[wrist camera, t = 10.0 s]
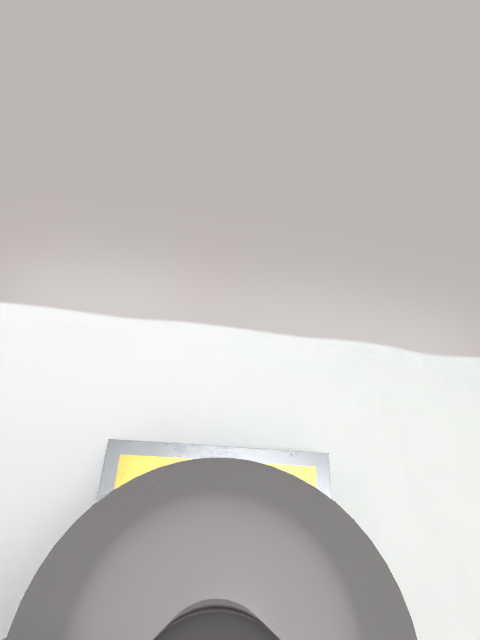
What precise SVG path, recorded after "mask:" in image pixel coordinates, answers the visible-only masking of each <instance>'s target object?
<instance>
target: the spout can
mask: <svg viewBox="0 0 480 640" xmlns="http://www.w3.org/2000/svg"><path fill="white" fill-rule="evenodd" d="M6 640H417V637H416V633H415V629H414V626H413V622H412V619H411V616H410V614H409V611H408V609H407V606H406V604H405V601H404V599H403V596H402V593H401V591H400V589H399V587H398V585H397V583H396V581H395V579H394V577H393V575H392V573H391V572H390V570H389V568H388V566H387V564H386V562H385V561H384V559H383V558H382V556H381V555H380V553H379V552H378V550H377V549H376V547H375V546H374V544H373V543H372V541H371V540H370V539H369V537H368V536H367V535H366V534H365V533H364V531H363V530H362V529H361V528H360V527H359V525H358V524H357V523H356V522H355V521H354V520H353V519H352V518H351V517H350V516H349V515H348V514H347V513H346V512H345V511H344V510H343V509H342V508H341V507H340V506H339V505H338V504H337V503H336V502H334V501H333V500H332V499H330V498H329V497H328V496H326V495H325V494H324V493H322V492H321V491H320V490H318V489H317V488H316V487H314V486H312V485H311V484H309V483H307V482H305V481H304V480H302V479H300V478H298V477H296V476H295V475H293V474H290V473H288V472H285V471H283V470H280V469H278V468H275V467H273V466H270V465H266V464H262V463H258V462H254V461H251V460H243V459H235V458H227V457H224V458H199V459H192V460H185V461H180V462H176V463H172V464H169V465H165V466H162V467H158V468H156V469H154V470H151V471H149V472H146V473H144V474H142V475H139V476H137V477H135V478H133V479H132V480H130V481H128V482H126V483H125V484H123V485H121V486H119V487H118V488H116V489H114V490H113V491H112V492H110V493H109V494H108V495H106V496H105V497H104V498H102V499H101V500H99V501H98V502H97V503H95V504H94V505H93V506H92V507H91V508H90V509H89V510H88V511H86V512H85V513H84V514H83V515H82V516H81V517H80V518H79V519H78V520H77V521H76V522H75V523H74V524H73V525H72V526H71V527H70V528H69V529H68V531H67V532H66V533H65V534H64V535H63V537H62V538H61V539H60V540H59V541H58V542H57V544H56V545H55V546H54V547H53V549H52V550H51V552H50V553H49V555H48V556H47V558H46V559H45V561H44V562H43V564H42V565H41V566H40V568H39V569H38V571H37V572H36V574H35V576H34V578H33V580H32V582H31V584H30V585H29V587H28V589H27V591H26V593H25V595H24V597H23V599H22V600H21V603H20V605H19V608H18V610H17V613H16V615H15V617H14V620H13V622H12V625H11V627H10V630H9V632H8V636H7V639H6Z"/></svg>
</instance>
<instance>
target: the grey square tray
mask: <svg viewBox="0 0 480 640" xmlns="http://www.w3.org/2000/svg"><path fill="white" fill-rule="evenodd" d="M224 457H227V458H235V459H243V460H251V461H254V462H258V463H262V464H266V465H270V466H273V467H275V468H278V469H280V470H283V471H285V472H288V473H290V474H293V475H295V476H296V477H298V478H300V479H302V480H304V481H305V482H307V483H309V484H311V485H312V486H314V487H316V488H317V489H318V490H320V491H321V492H322V493H324V494H325V495H326V496H328V497H329V498H330V499H331V492H330V467H329V453H314V452H298V451H283V450H268V449H252V448H237V447H221V446H206V445H191V444H175V443H160V442H145V441H129V440H114V439H108V445H107V450H106V455H105V461H104V466H103V471H102V477H101V482H100V487H99V493H98V498H97V502H98V501H99V500H101V499H102V498H104V497H105V496H106V495H108V494H109V493H110V492H112V491H113V490H114V489H116V488H118V487H119V486H121V485H123V484H125V483H126V482H128V481H130V480H132V479H133V478H135V477H137V476H139V475H142V474H144V473H146V472H149V471H151V470H154V469H156V468H158V467H162V466H165V465H169V464H172V463H176V462H180V461H185V460H192V459H199V458H224Z"/></svg>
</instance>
